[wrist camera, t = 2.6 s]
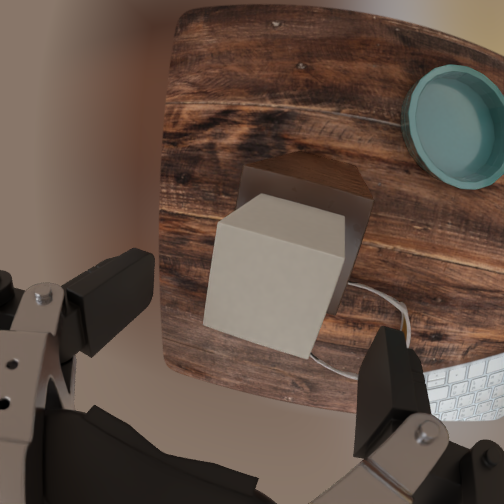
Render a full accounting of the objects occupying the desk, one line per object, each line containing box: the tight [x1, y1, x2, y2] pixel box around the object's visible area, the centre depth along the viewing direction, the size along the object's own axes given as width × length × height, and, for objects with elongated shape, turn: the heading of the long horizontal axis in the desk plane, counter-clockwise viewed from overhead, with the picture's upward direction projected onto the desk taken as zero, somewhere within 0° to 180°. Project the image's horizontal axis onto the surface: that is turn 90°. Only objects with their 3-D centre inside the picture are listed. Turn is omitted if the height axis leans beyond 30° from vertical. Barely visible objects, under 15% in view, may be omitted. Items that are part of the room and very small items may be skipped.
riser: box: [235, 151, 374, 315], centre depth 27 cm, size 7×7×22 cm
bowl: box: [401, 64, 504, 190], centre depth 27 cm, size 14×14×5 cm
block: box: [203, 193, 345, 359], centre depth 14 cm, size 4×4×6 cm
